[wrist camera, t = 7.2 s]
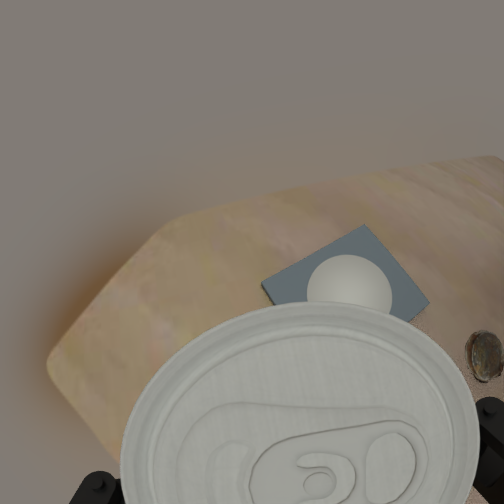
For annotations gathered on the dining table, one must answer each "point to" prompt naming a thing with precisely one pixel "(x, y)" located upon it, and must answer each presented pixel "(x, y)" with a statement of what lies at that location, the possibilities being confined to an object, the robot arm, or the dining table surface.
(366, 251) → the board
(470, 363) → the decorative disc
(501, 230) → the dining table surface
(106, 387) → the dining table surface
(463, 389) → the beer can
